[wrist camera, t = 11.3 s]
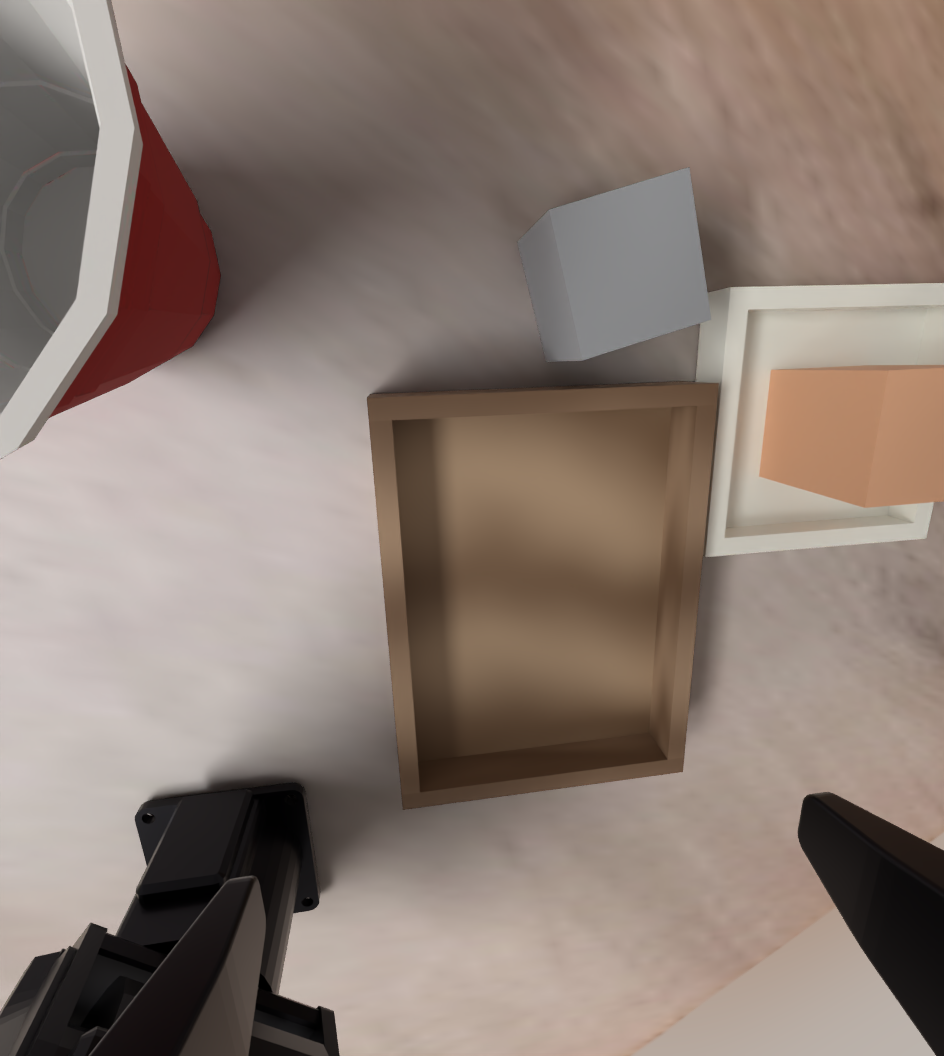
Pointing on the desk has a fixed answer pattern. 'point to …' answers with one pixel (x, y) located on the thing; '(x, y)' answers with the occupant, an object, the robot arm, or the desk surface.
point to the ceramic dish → (744, 375)
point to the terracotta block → (857, 433)
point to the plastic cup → (86, 221)
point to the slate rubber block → (616, 268)
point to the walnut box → (540, 581)
